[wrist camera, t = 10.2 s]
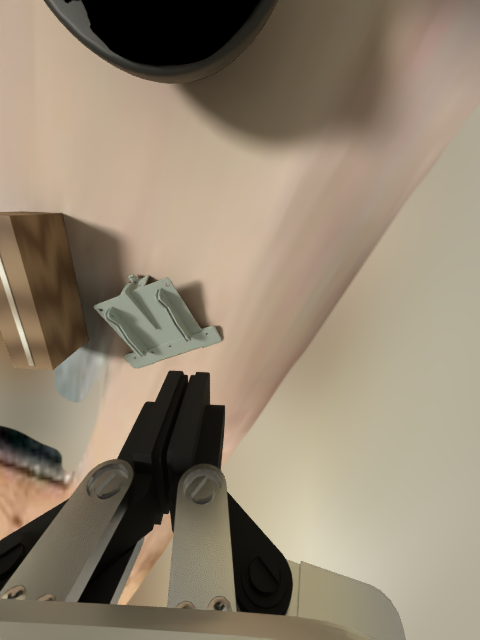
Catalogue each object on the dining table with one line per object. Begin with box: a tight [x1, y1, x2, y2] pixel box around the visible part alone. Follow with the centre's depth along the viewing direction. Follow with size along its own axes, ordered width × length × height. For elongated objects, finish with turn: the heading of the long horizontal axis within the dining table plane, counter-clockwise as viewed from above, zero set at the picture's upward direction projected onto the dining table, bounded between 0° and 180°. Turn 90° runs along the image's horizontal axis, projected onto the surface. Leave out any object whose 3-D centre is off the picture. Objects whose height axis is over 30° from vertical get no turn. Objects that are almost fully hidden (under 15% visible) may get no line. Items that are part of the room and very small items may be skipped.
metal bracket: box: [94, 274, 222, 368], centre depth 38 cm, size 14×6×15 cm
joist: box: [0, 212, 89, 370], centre depth 34 cm, size 18×5×8 cm, turn 178°
